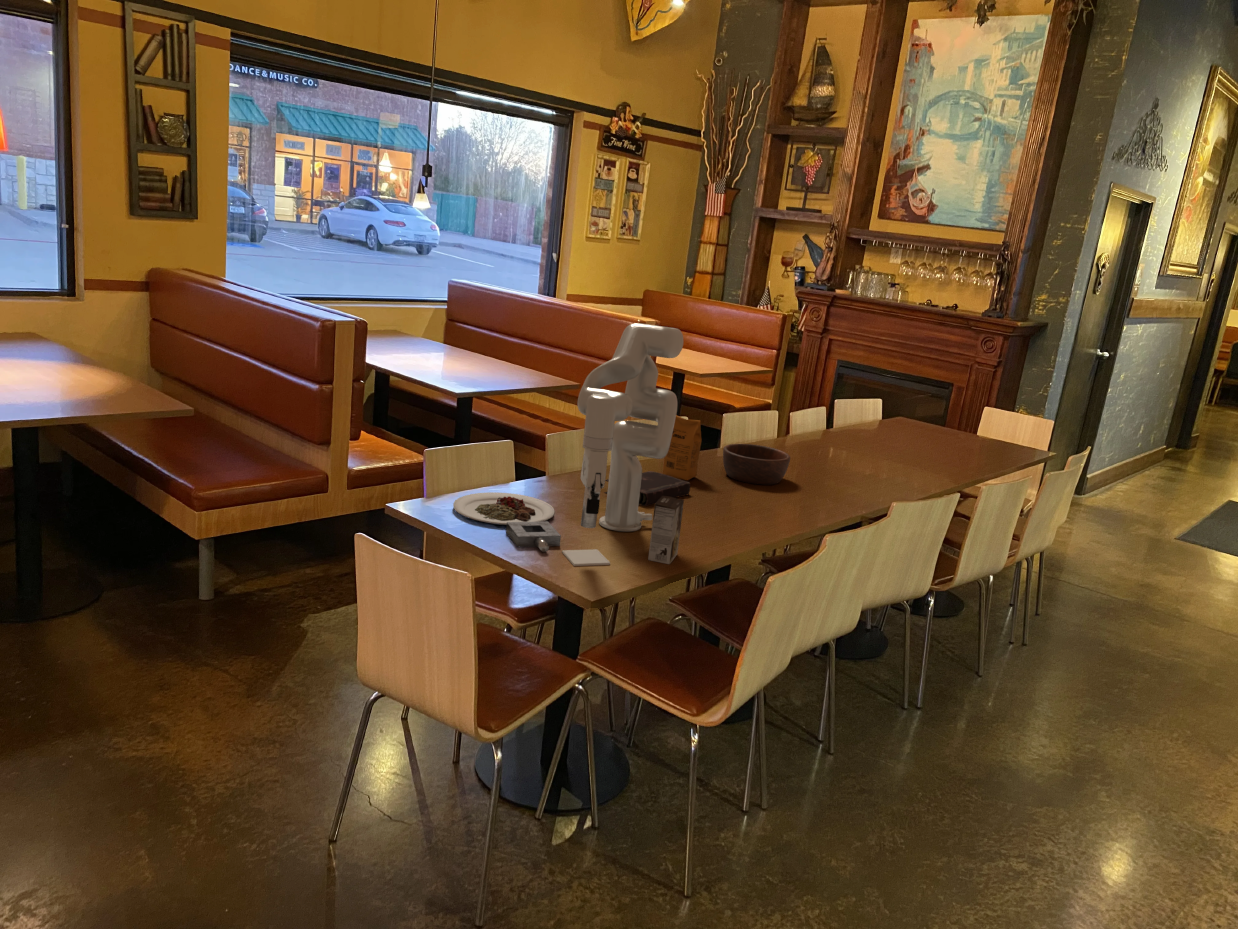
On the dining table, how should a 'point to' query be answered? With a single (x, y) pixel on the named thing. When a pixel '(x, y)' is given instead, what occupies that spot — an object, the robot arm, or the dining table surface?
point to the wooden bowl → (755, 463)
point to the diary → (660, 487)
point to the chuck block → (533, 534)
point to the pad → (585, 557)
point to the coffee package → (683, 449)
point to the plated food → (503, 508)
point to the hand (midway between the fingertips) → (590, 510)
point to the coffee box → (666, 529)
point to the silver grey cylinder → (588, 519)
